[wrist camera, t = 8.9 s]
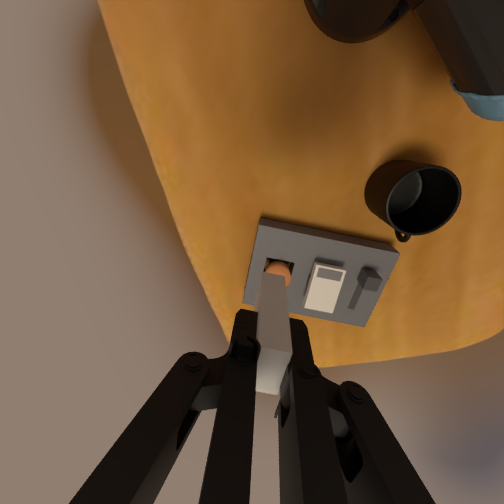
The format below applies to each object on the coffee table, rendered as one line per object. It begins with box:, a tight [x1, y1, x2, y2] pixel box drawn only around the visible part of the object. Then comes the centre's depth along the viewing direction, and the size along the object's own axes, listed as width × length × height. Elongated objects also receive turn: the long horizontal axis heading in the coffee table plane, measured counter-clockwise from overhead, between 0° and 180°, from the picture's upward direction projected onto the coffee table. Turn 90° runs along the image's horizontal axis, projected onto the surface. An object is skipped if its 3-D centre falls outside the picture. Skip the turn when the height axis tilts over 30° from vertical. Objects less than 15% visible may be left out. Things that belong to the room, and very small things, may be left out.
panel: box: [242, 218, 400, 327], centre depth 47 cm, size 16×24×5 cm, turn 79°
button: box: [265, 259, 291, 287], centre depth 46 cm, size 4×4×6 cm
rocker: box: [303, 262, 346, 313], centre depth 43 cm, size 8×5×2 cm, turn 169°
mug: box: [365, 160, 461, 242], centre depth 38 cm, size 9×12×9 cm
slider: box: [357, 268, 383, 292], centre depth 43 cm, size 2×2×3 cm
